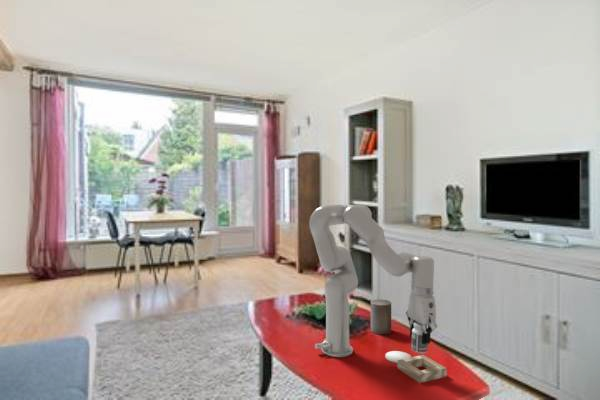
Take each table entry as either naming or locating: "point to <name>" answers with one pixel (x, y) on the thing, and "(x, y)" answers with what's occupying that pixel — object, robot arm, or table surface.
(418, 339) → the pill bottle
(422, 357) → the socket block
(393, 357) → the felt mat
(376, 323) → the pillar candle
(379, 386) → the table surface
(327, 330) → the robot arm
